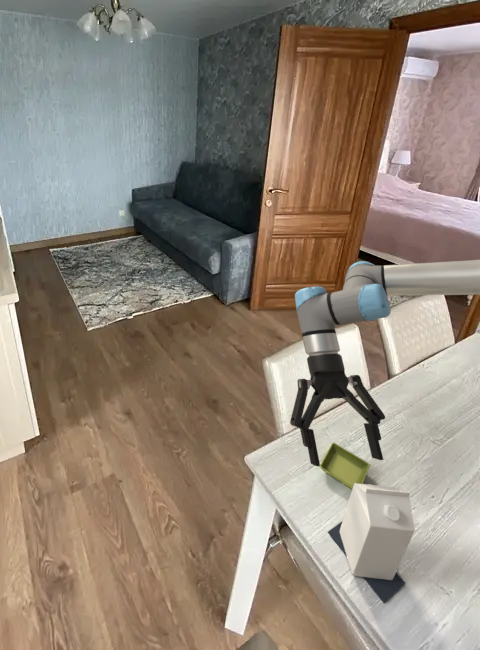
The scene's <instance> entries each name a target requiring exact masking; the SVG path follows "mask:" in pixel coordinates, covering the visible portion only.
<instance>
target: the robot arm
mask: <svg viewBox="0 0 480 650" xmlns="http://www.w3.org/2000/svg"><path fill="white" fill-rule="evenodd" d="M463 295H464V296H467V295H469V296H470V295H471V296H472V295H474V296H475V295H477V296H478V295H480V259H469V260H452V261H437V262H434V261H433V262H420V263H404V264H386V265H375V264H374V263H371V262H370V261H366V260H362V261H357V262H354V263H352V264H351V265H350V266H349V268H348V269H347V271H346V273H345V278H344V283H343V286H342V290H337V291H333V292H327V290H326V288H325V287H323V286H310V287H309V286H308V287H304V288H301V289H298V290H297V291H296V292H295V294H294V301H295V307H296V308H295V310H296V314H297V318H298V322H299V326H300V327H299V328H300V331H301V336H302V337H301V338H302V341H303V348H304V353H305V355H306V356H307V355H308V356H307V358H306V362H307V367H308V372H309V375H310V377H309V378H310V379H306V378H298V379H297V393H296V397H295V401H294V404H293V408H292V412H291V417H290V421H289V424H290V425H291V426H292V427H295V428H298V429H299V430H300V435H301V440H302V445H303V447H305V448H307V450H308V456H309V462H310V465H313V466H315V467H320V464H321V462H320V458H319V452H318V448H317V442H316V436H315V433H314V429H312V428H310V427H311V425H312V422H313V420H314V419H315V416H316V415H317V413H318V411H319V409H320V406H321V405H322V404H323V402H324V401H325V400H333V399H343V400H344V401H345V402H347V403H348V405H349V406H351V408H353V409H354V410H355V411H356V412H357V413H358V414H359V415H360V416H361V417H362V418H363V420H365V421H366V423H363V427H364V430H365V434H366V439H367V443H368V448H369V451H370V455H371V458H372V459H375V460H378V461H384V456H383V451H382V448H381V445H380V441H382V436H381V432H380V428H379V425H380V424H381V421H382V420H383V421H384V420H386V415H385V414H384V412H383V411H382V409H381V408H380V407H379V405H378V404H377V402H376V401H375V400H374V398H373V397H372V395H371V394H370V392H369V391H368V390H367V388H366V387H365V386H364V384H363V381H362V378H361V376H360V375H359V374H352V375H349V376H347V375H346V372H345V369H346V368H345V365H344V359H343V355H341V354H340V353H339V352H340V351H341V347H340V344H339V340H338V336H337V331H336V327H337V326H343V325H349V324H355V323H363V322H374V321H376V320H379V319H384V318H388V317H389V316H390V315H391V309H392V308H391V304H390V301H389V296H391V297H393V296H395V297H398V296H401V297H402V296H463ZM349 386H351V387H352V388H353V390H354V392H355V393H356V394H357V397H359V398H360V400H361V401H362V402H361V401H360V400H359V399H358V398H357V397H356V396H355V395H354V393H353V392H352V391H351V390H350V389H349V388H348V387H349ZM310 387H311V388H312V389H313V390H314V392H313V394H312V395H311V398H310V401H309V403H308V405H307V406H306V402H307V397H308V392H309V390H310V389H311V388H310ZM305 406H306V409H305ZM304 410H305V411H304Z"/></svg>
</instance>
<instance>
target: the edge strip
mask: <svg viewBox="0 0 480 650" xmlns="http://www.w3.org/2000/svg"><path fill="white" fill-rule="evenodd" d="M341 525H342V521H340V522H339V523H338V524H336V525H335V526H333V527H332V528H331V529H329V530H328V531H327V533H328V535H329V536H330V538H332V540H333V541H334V543H336V545H337V546H338V547H339V548H340V550H341V551H342V552H343V554H344V555H345V557H347V555H346V552H345V548H344V545H343V542H342V539H341V535H340V532H339V531H340V528H341ZM363 579H364V580H365V582H366V583H367V585H368V586H370V588H371V589H372V590H373V591H374V593H375V594H376V595H377V597H378V598H379V599H380V600H381V602H382V603H383V604H385V603H386V602H387V601H388V600H389V599H390V598H391V597H393V596H394V595H395V594H396V593H397V592H398V591H399V590H400V589H401V588H402V587H404V585H405V584H406V582H405V580H404V579H403V578H402V577H401V576H400V575H399V573H398V571H396V574H395V576H394V578H393V580H386V579H377V578H368V577H363Z"/></svg>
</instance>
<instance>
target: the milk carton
mask: <svg viewBox="0 0 480 650" xmlns="http://www.w3.org/2000/svg"><path fill="white" fill-rule="evenodd" d="M410 496H411V492H410V491H405V490H404V491H402V490H400V489H398V488H396V487H395V486H388V485H380V484H379V485H378V484H368V483H363V484H358V483H354V486H353V489H351V494H350V496H349V499H348V502H347V506H346V509H345V512H344V514H343V519H342V521H341V522H342V525H341V528H340V531H339V532H340V535H341V539H342V542H343V545H344V548H345V552H346V555H347V556H346V555H345V556H346V558H347V562H348V565H349V568H350V571H351V575H352V576H353V577H354V576H355V577H361V578H364V577H368V578H377V579H386V580H393V578H394V576H395V574H396V572H398V569H399V567H400V564H401V562H402V560H403V557H404V556H405V553H406V552H407V549H408V546H409V545H410V542H411V540H412V538H413V536H414V534H415V531H416V527H415V523H414V517H413V512H412V506H411V501H410Z"/></svg>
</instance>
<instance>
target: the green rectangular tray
mask: <svg viewBox="0 0 480 650" xmlns="http://www.w3.org/2000/svg"><path fill="white" fill-rule="evenodd" d="M370 466H371V464H370V463H368V462H367V461H365V460H363V459H362V458H360V457H358V456H357V455H356V454H354V453H352V452H350V451H348V449H345V448H344V447H342V446H341V445H339V444H337V443H336V442H332V443H331V444H330V446H329V448H328V449H327V452H326V454H325V455H324V457H323V459H322V461H321V462H320V466H319V467H320V469H321V470H322V471H323V472H325V473H326V474H328V475H329V476H331V477H332V478H334V479H335V480H337V481H338V482H340V483H341V484H343V485H344V486H345V487H347V488H349V489H350V490H352V489H353V486H354V483H358V484H364V481H365V479H366V477H367V474H368V473H369V470H370Z"/></svg>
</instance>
